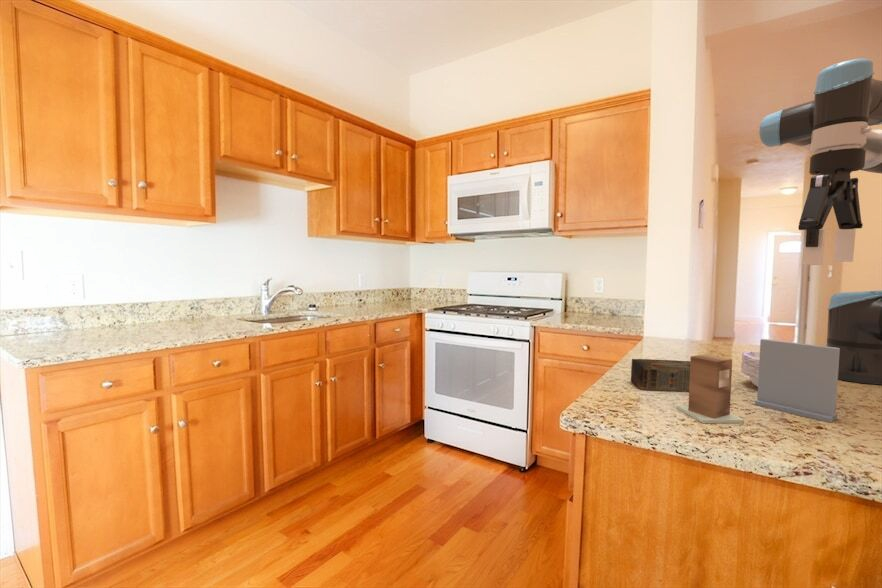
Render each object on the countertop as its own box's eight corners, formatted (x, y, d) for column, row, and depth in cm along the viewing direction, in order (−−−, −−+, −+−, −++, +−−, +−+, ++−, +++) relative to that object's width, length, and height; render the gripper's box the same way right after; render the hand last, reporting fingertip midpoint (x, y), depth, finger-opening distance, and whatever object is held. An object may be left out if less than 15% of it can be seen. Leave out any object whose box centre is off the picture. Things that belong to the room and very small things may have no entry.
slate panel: (754, 404, 86) (758, 340, 85) (762, 401, 88) (765, 338, 87) (830, 422, 76) (835, 349, 75) (837, 418, 78) (841, 347, 77)
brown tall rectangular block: (703, 406, 83) (705, 354, 83) (729, 414, 79) (732, 359, 78) (688, 410, 81) (690, 356, 80) (714, 418, 77) (717, 361, 76)
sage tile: (714, 408, 84) (714, 405, 84) (743, 422, 76) (744, 419, 76) (676, 408, 84) (676, 405, 84) (702, 423, 76) (702, 420, 76)
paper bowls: (842, 399, 90) (844, 364, 89) (772, 399, 90) (774, 364, 89) (785, 380, 105) (787, 350, 104) (726, 380, 105) (727, 350, 105)
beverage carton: (726, 394, 94) (727, 366, 93) (639, 391, 96) (640, 364, 96) (708, 384, 102) (709, 358, 101) (628, 382, 104) (629, 357, 104)
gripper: (835, 140, 67) (825, 267, 70) (890, 151, 79) (880, 260, 81) (780, 150, 74) (773, 265, 76) (839, 159, 85) (830, 260, 88)
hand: (828, 263), depth 79 cm, fingers open, 13 cm apart
